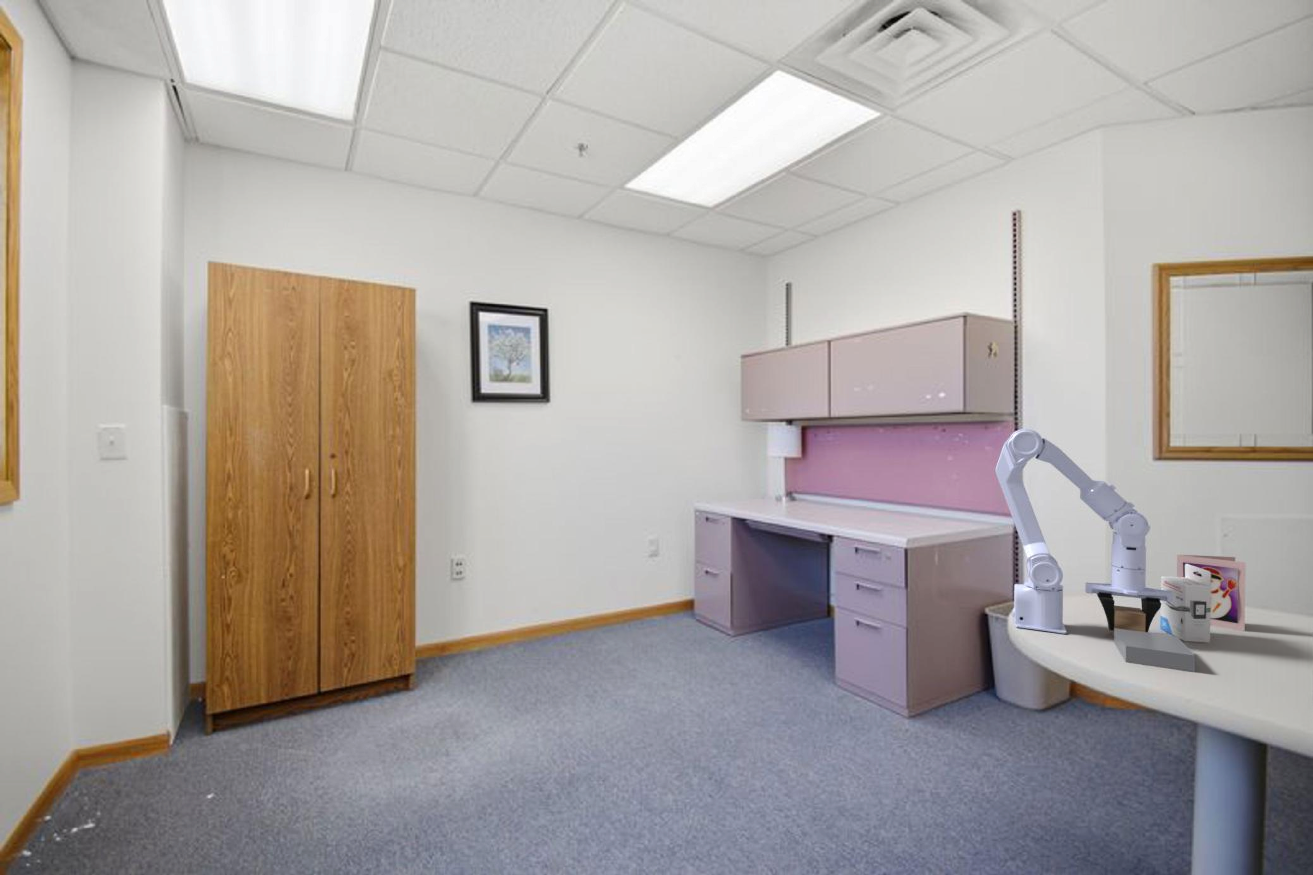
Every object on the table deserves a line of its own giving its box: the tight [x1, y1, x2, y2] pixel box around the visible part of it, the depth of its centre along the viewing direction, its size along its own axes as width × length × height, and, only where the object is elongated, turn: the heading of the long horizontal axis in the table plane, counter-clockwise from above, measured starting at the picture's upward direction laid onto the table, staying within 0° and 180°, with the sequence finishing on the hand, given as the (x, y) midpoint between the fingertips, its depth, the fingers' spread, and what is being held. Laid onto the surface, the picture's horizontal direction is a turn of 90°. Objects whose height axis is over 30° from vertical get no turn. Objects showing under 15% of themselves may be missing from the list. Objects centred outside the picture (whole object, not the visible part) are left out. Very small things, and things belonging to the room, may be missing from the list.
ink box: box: [1159, 564, 1211, 644], centre depth 130 cm, size 9×5×15 cm, turn 168°
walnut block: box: [1110, 604, 1146, 638], centre depth 128 cm, size 5×5×6 cm
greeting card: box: [1176, 554, 1246, 632], centre depth 139 cm, size 11×7×15 cm, turn 43°
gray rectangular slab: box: [1113, 628, 1196, 673], centre depth 117 cm, size 10×12×3 cm
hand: (1127, 631), depth 128 cm, fingers closed on walnut block, 5 cm apart
